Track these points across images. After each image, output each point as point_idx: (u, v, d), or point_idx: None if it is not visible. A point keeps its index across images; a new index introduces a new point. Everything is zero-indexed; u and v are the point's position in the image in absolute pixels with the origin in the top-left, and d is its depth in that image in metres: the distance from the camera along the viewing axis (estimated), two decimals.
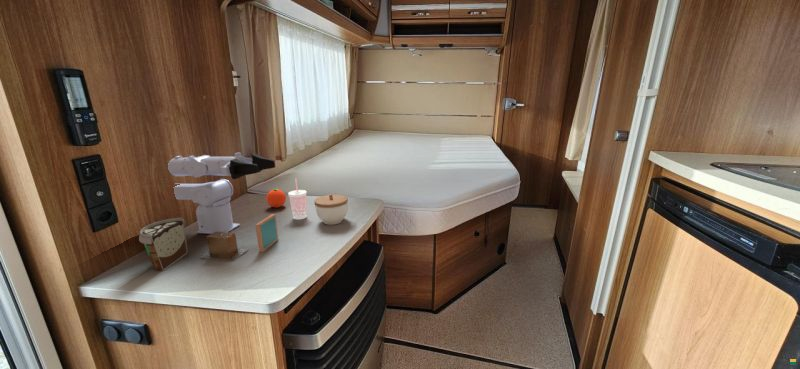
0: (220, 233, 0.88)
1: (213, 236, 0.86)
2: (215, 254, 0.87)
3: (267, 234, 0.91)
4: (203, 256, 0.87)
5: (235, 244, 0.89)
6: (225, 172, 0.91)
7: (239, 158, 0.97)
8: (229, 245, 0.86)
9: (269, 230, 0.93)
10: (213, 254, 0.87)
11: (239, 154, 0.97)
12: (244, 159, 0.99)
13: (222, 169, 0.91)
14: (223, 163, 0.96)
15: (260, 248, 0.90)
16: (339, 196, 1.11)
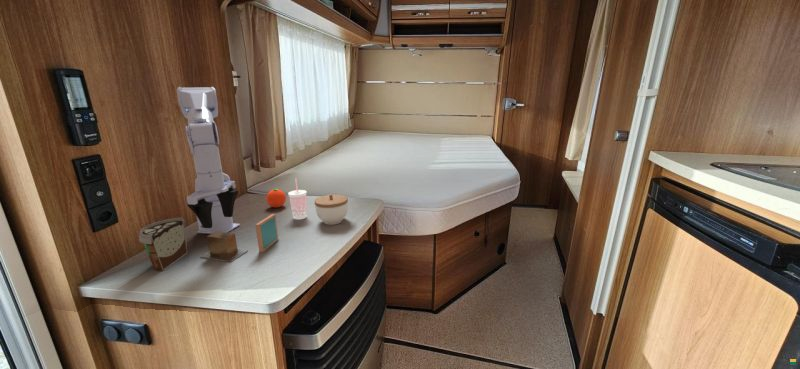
0: (220, 233, 0.88)
1: (213, 236, 0.87)
2: (215, 254, 0.87)
3: (267, 234, 0.91)
4: (203, 255, 0.88)
5: (235, 244, 0.88)
6: (189, 202, 0.77)
7: None
8: (228, 246, 0.86)
9: (269, 230, 0.93)
10: (213, 254, 0.88)
11: None
12: None
13: (191, 199, 0.77)
14: (207, 179, 0.80)
15: (260, 248, 0.90)
16: (339, 196, 1.11)
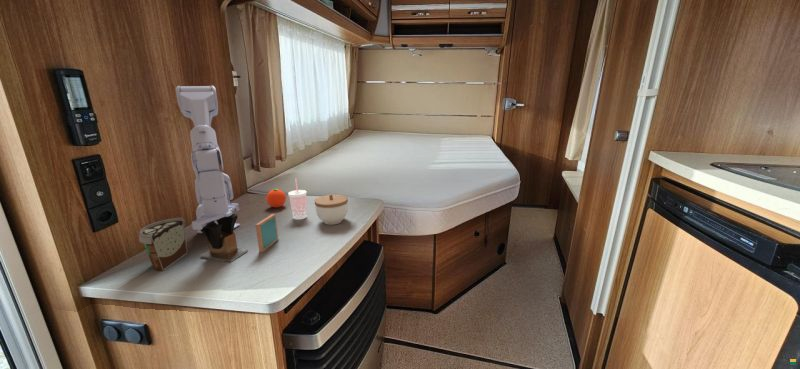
0: None
1: None
2: (215, 253, 0.87)
3: (267, 234, 0.91)
4: (203, 255, 0.88)
5: (235, 244, 0.88)
6: (194, 228, 0.79)
7: None
8: (228, 245, 0.86)
9: (269, 230, 0.93)
10: (213, 253, 0.88)
11: None
12: None
13: (196, 225, 0.79)
14: (211, 204, 0.82)
15: (260, 248, 0.90)
16: (339, 196, 1.11)
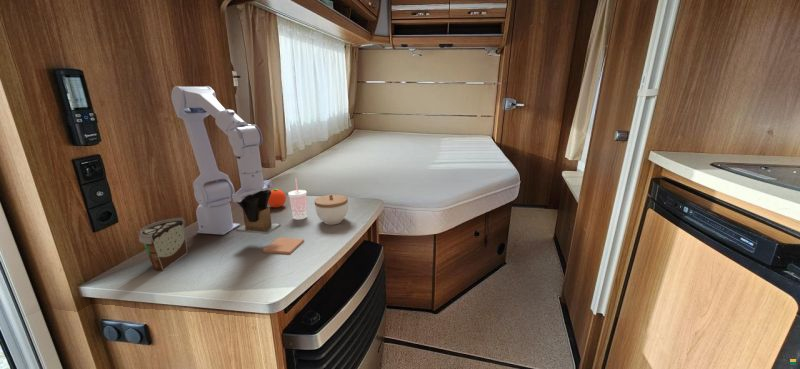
0: None
1: None
2: (250, 227, 0.91)
3: None
4: (239, 228, 0.91)
5: (269, 218, 0.92)
6: (234, 200, 0.83)
7: None
8: (264, 218, 0.90)
9: None
10: (248, 227, 0.91)
11: None
12: None
13: (236, 197, 0.83)
14: (249, 179, 0.86)
15: (266, 251, 0.90)
16: (339, 196, 1.11)
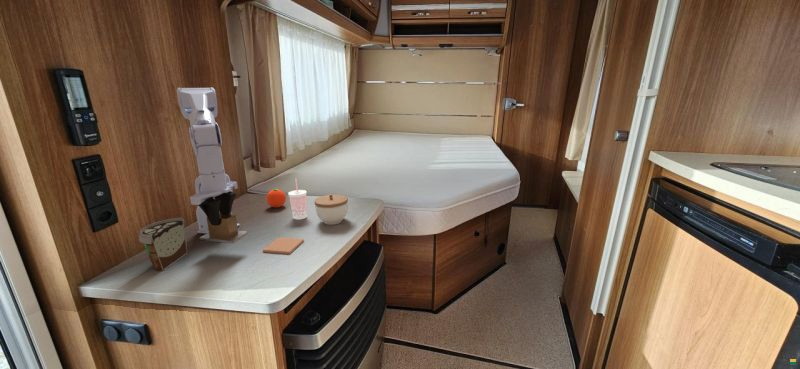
0: (220, 214, 0.88)
1: None
2: (215, 235, 0.87)
3: None
4: (203, 237, 0.87)
5: (235, 225, 0.88)
6: (192, 202, 0.79)
7: None
8: (229, 226, 0.86)
9: None
10: (213, 235, 0.87)
11: None
12: None
13: (195, 199, 0.78)
14: (210, 180, 0.82)
15: (266, 251, 0.90)
16: (339, 196, 1.11)
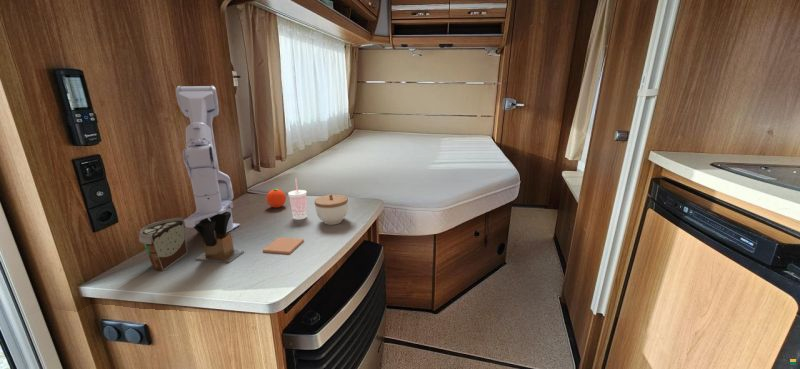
0: (216, 234, 0.87)
1: None
2: (211, 255, 0.86)
3: None
4: (199, 257, 0.86)
5: (231, 245, 0.88)
6: (186, 225, 0.78)
7: None
8: (225, 246, 0.86)
9: None
10: (209, 255, 0.87)
11: None
12: None
13: (189, 222, 0.78)
14: (204, 202, 0.81)
15: (266, 251, 0.90)
16: (339, 196, 1.11)
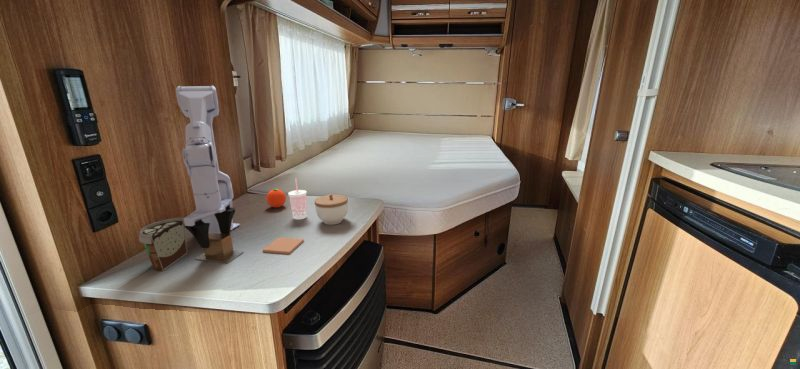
0: (216, 234, 0.87)
1: None
2: (210, 256, 0.86)
3: None
4: (198, 258, 0.87)
5: (231, 246, 0.88)
6: (186, 224, 0.78)
7: None
8: (224, 247, 0.85)
9: None
10: (208, 256, 0.87)
11: None
12: None
13: (188, 221, 0.78)
14: (204, 200, 0.81)
15: (266, 251, 0.90)
16: (339, 196, 1.11)
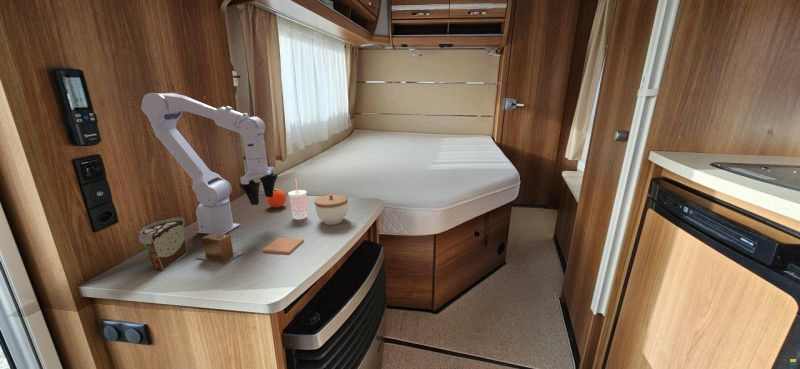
0: (216, 234, 0.87)
1: (208, 237, 0.86)
2: (210, 255, 0.87)
3: None
4: (199, 256, 0.87)
5: (230, 246, 0.87)
6: (242, 182, 0.94)
7: None
8: (223, 248, 0.85)
9: None
10: (209, 255, 0.87)
11: None
12: None
13: (244, 180, 0.94)
14: (255, 164, 0.97)
15: (266, 251, 0.90)
16: (339, 196, 1.11)
